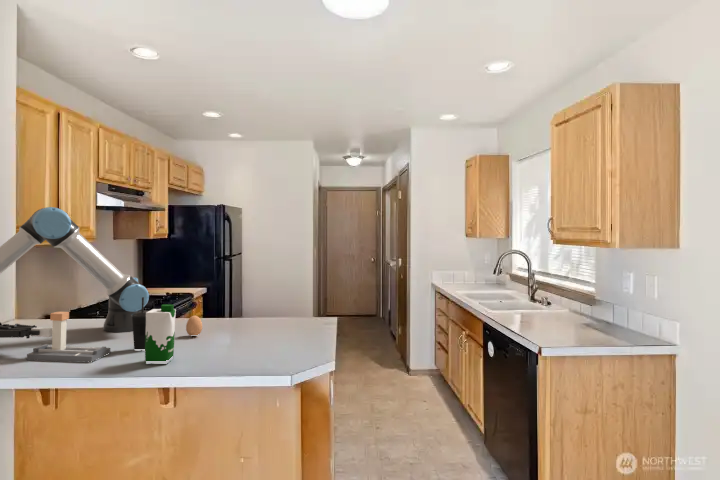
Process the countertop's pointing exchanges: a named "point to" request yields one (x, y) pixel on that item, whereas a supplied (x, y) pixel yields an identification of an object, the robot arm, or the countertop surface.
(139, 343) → the drinking cup
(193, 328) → the egg
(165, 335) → the milk carton
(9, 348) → the countertop surface
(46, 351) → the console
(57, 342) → the fader
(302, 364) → the countertop surface
